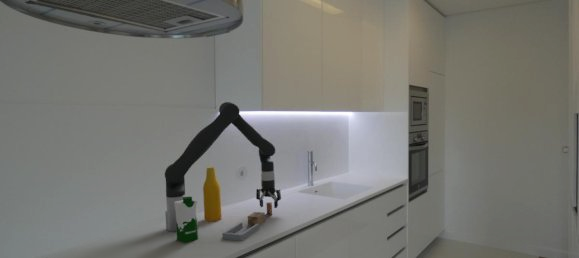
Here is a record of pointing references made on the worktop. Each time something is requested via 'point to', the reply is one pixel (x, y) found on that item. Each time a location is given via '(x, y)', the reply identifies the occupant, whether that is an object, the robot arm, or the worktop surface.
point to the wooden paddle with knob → (259, 216)
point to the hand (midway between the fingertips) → (268, 207)
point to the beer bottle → (211, 197)
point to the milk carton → (186, 219)
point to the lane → (230, 234)
